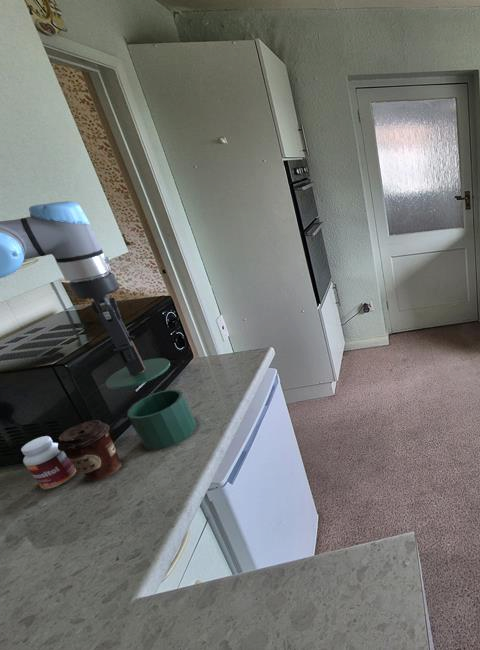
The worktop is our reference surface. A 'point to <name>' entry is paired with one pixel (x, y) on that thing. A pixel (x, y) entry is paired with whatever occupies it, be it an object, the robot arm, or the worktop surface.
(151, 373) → the tin lid
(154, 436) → the tin
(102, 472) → the brown jar
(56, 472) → the pill bottle
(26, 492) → the worktop surface
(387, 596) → the worktop surface
